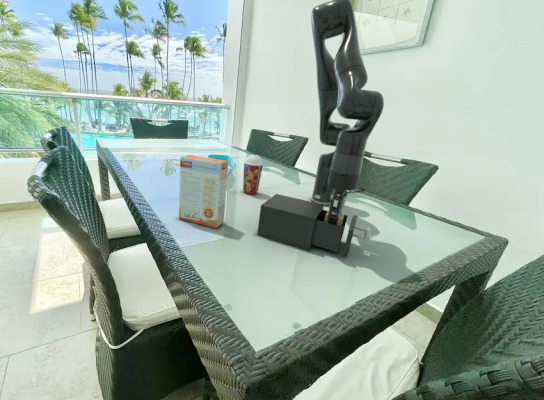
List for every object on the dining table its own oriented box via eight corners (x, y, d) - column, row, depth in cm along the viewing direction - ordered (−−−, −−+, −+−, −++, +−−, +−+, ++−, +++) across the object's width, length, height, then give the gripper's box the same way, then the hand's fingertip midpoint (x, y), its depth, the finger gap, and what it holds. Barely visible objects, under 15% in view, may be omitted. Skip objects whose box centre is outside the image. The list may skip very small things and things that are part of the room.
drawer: (366, 243, 81) (373, 219, 78) (364, 262, 70) (372, 235, 68) (303, 226, 89) (307, 204, 87) (293, 241, 79) (297, 216, 76)
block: (325, 223, 81) (328, 209, 80) (341, 227, 80) (344, 213, 78) (322, 228, 78) (325, 214, 76) (339, 233, 76) (342, 218, 74)
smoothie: (263, 193, 124) (268, 149, 117) (251, 196, 118) (257, 150, 111) (248, 188, 129) (253, 146, 122) (237, 191, 123) (241, 147, 116)
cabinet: (318, 232, 88) (324, 204, 85) (309, 250, 76) (315, 218, 73) (272, 220, 95) (276, 193, 92) (257, 234, 83) (260, 204, 80)
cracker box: (224, 222, 90) (229, 160, 83) (216, 229, 85) (220, 163, 78) (187, 213, 95) (190, 153, 88) (178, 219, 90) (179, 156, 83)
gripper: (334, 163, 80) (323, 216, 86) (326, 171, 68) (313, 232, 74) (362, 168, 77) (348, 223, 83) (358, 177, 65) (342, 240, 71)
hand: (331, 227), depth 78 cm, fingers closed on block, 4 cm apart
